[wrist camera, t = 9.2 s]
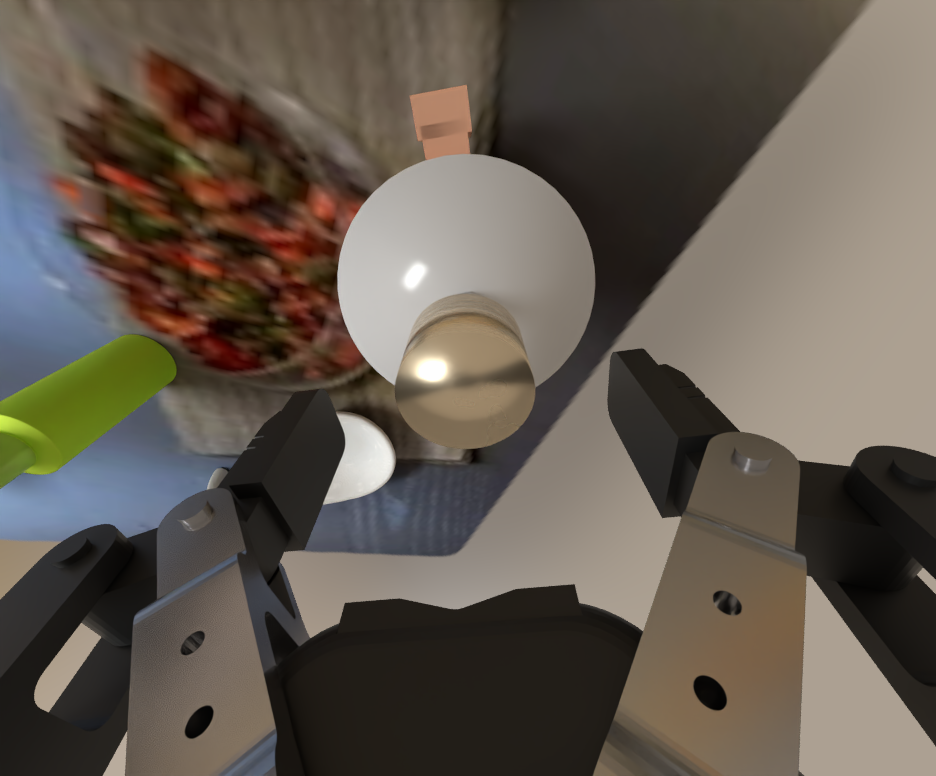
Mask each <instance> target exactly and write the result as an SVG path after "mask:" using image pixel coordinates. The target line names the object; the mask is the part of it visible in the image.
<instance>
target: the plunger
mask: <svg viewBox="0 0 936 776" xmlns="http://www.w3.org/2000/svg"><path fill="white" fill-rule="evenodd" d="M395 398H396V403H397V406H398V409H399V411H400V413H401V415H402V417H403V418H404V420H405V421H406V422H407V424H408V425H409V426H410V427H411V428H412V429H413V430H414V431H415V432H417V433H418V434H419V435H421V436H422V437H424V438H425V439H427V440H429V441H431V442H433V443H436V444H439V445H442V446H446V447H450V448H457V449H473V448H480V447H485V446H489V445H492V444H495V443H497V442H499V441H501V440H503V439H505V438H507V437H508V436H510V435H511V434H513V433H514V432H515V431H516V430H517V429H519V427H520V426H521V425H522V424H523V423H524V422H525V420H526V419H527V417H528V416H529V414H530V412H531V410H532V407H533V404H534V399H535V382H534V377H533V374H532V370H531V367H530V363H529V360H528V356H527V353H526V349H525V346H524V342H523V339H522V335H521V332H520V329H519V326H518V324H517V322H516V320H515V319H514V317H513V316H512V315H511V314H510V312H509V311H508V310H507V309H506V308H504V307H503V306H502V305H501V304H499V303H497V302H496V301H494V300H492V299H490V298H487V297H484V296H481V295H476V294H472V293H469V292H464V293H461V294H455V295H450V296H447V297H444V298H441V299H439V300H437V301H435V302H433V303H432V304H431V305H429V306H428V307H427V308H426V309H425V310H423V311H422V313H421V314H420V315H419V316H418V318H417V319H416V321H415V323H414V325H413V327H412V329H411V332H410V336H409V339H408V342H407V345H406V348H405V351H404V354H403V358H402V361H401V364H400V367H399V370H398V373H397V377H396V381H395Z"/></svg>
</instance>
